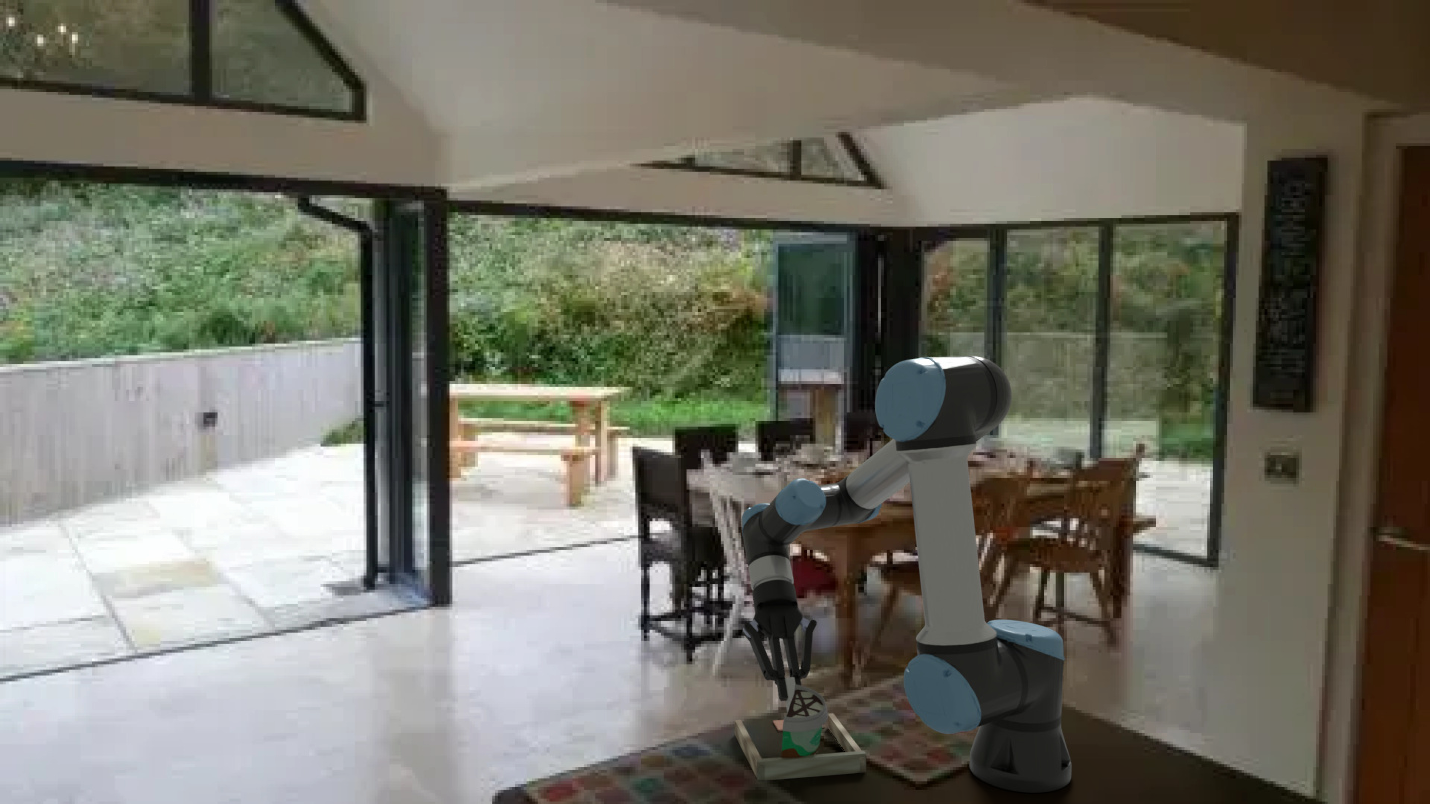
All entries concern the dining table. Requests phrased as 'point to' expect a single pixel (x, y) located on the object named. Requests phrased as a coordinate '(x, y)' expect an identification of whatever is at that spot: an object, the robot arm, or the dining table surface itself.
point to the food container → (803, 723)
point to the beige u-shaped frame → (805, 757)
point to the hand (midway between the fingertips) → (794, 718)
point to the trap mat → (778, 724)
